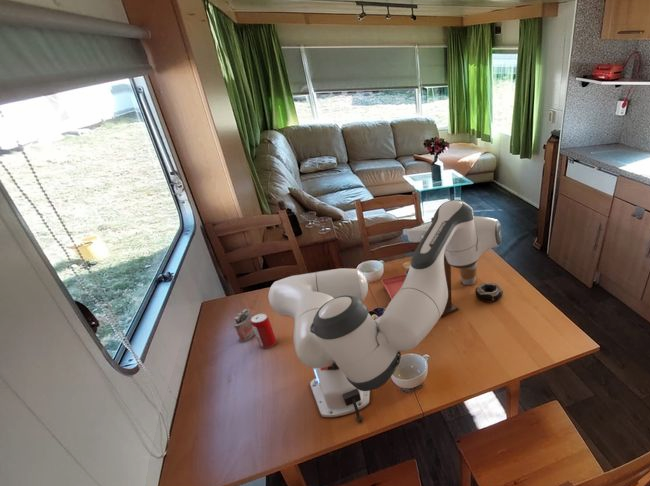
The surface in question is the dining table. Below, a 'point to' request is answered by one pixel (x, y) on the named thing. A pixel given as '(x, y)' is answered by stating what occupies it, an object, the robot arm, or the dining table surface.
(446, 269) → the stand
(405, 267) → the spoon
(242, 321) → the lighter
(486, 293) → the donut
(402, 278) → the plant saucer
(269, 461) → the dining table surface
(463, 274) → the coffee cup
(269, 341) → the soda can
